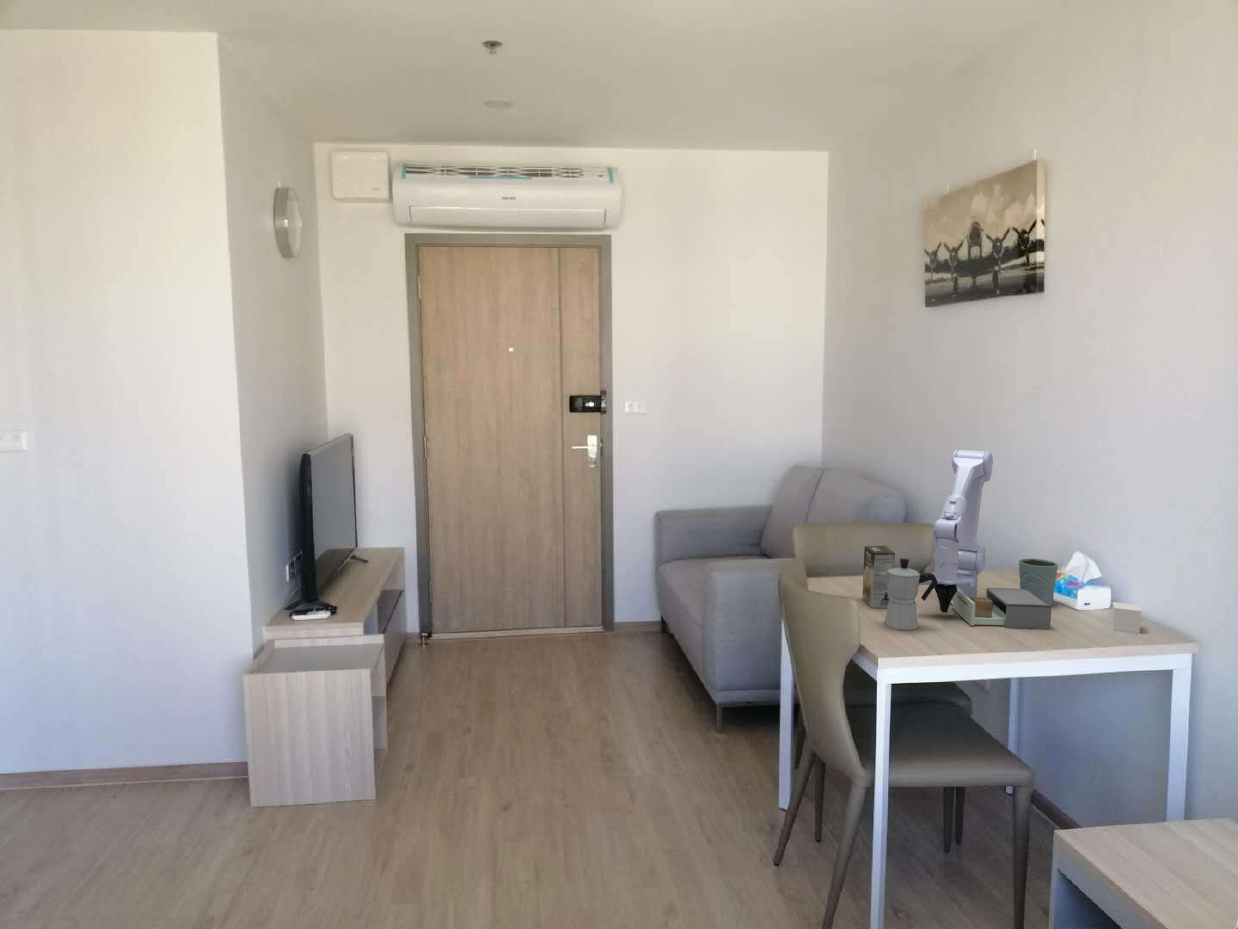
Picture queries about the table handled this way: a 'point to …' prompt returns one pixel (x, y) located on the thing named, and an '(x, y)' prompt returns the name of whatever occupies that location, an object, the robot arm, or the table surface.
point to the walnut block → (982, 606)
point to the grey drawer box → (1021, 608)
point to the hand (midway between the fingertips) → (943, 611)
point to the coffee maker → (904, 595)
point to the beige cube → (1126, 617)
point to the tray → (967, 611)
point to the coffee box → (876, 575)
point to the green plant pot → (1038, 577)
